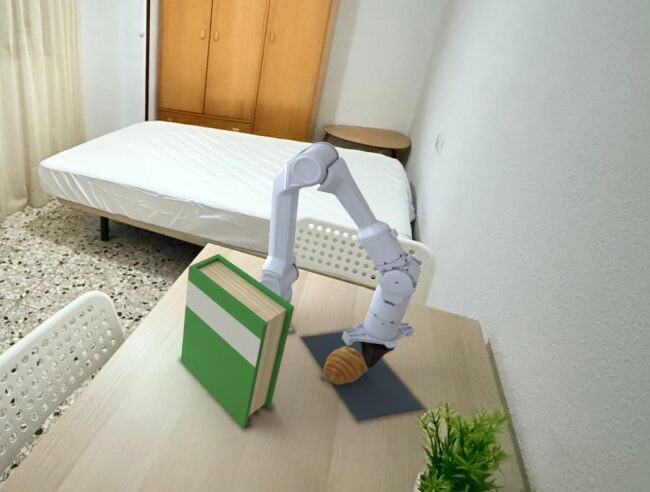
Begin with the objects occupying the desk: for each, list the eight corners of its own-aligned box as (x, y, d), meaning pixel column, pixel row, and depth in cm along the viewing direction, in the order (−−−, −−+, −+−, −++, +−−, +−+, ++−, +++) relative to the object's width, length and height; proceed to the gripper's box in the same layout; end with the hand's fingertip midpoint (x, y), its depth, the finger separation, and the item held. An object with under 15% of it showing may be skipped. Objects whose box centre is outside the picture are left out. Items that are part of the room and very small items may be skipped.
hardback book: (270, 405, 75) (294, 306, 65) (243, 427, 71) (263, 325, 61) (207, 345, 88) (218, 253, 77) (180, 360, 84) (188, 266, 73)
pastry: (343, 395, 77) (348, 381, 76) (312, 372, 82) (316, 358, 81) (368, 372, 83) (372, 358, 81) (337, 351, 87) (341, 338, 86)
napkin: (301, 337, 91) (301, 337, 91) (356, 330, 93) (356, 329, 93) (357, 420, 73) (357, 419, 73) (422, 408, 76) (422, 407, 76)
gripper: (366, 332, 72) (347, 384, 78) (434, 323, 75) (411, 374, 81) (342, 306, 78) (327, 356, 84) (406, 298, 81) (387, 347, 87)
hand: (367, 363), depth 83 cm, fingers closed
